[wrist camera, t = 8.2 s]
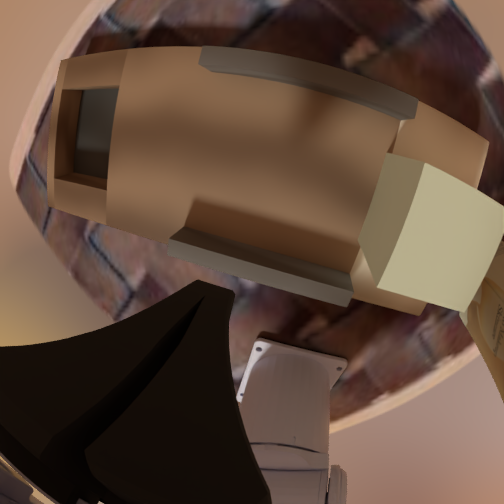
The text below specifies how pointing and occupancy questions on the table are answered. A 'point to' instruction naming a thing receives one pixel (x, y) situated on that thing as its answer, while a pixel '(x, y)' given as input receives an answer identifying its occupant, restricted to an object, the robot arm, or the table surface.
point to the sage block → (429, 233)
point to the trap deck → (243, 160)
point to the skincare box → (489, 318)
